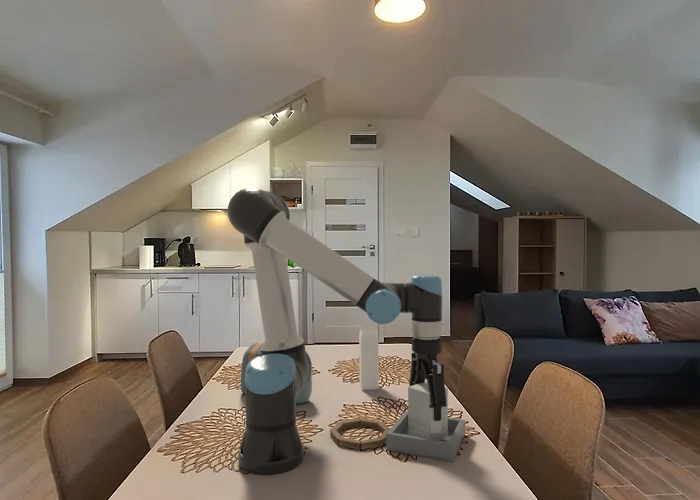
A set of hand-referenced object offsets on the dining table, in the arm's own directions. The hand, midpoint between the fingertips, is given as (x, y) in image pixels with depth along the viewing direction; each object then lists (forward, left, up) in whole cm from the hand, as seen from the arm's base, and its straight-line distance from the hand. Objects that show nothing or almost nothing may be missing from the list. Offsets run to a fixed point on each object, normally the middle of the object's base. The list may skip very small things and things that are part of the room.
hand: (426, 424), depth 118 cm
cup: (+13, +44, -5) cm, 47 cm away
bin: (0, 0, -4) cm, 4 cm away
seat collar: (-3, +17, -4) cm, 18 cm away
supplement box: (0, 0, -3) cm, 3 cm away
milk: (+35, +29, -5) cm, 46 cm away
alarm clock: (+21, +61, -5) cm, 65 cm away
